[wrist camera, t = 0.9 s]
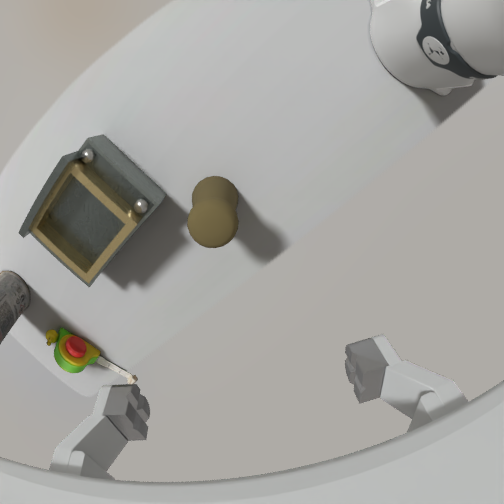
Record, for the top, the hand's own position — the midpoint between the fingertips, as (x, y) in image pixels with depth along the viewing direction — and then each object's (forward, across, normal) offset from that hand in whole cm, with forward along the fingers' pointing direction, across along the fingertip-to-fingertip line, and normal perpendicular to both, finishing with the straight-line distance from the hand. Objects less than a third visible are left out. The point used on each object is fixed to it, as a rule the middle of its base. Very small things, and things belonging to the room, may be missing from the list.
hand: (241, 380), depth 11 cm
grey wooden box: (+31, +17, -2) cm, 36 cm away
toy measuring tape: (+32, +31, +24) cm, 51 cm away
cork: (+31, +1, +1) cm, 31 cm away
